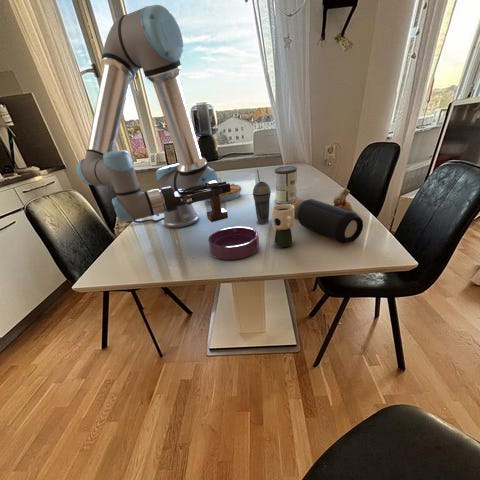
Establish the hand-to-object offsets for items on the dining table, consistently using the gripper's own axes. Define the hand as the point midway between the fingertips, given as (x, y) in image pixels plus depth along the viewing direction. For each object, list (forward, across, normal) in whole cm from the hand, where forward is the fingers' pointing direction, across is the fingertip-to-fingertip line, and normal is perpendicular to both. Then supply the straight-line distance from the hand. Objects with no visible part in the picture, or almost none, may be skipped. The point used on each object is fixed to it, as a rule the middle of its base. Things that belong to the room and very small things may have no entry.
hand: (227, 186), depth 99 cm
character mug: (+11, +19, -18) cm, 29 cm away
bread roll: (+32, -4, -18) cm, 37 cm away
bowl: (-5, +12, -18) cm, 22 cm away
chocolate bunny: (+47, +6, -18) cm, 51 cm away
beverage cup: (+16, -6, -18) cm, 25 cm away
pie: (+16, -54, -18) cm, 60 cm away
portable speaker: (+28, +20, -18) cm, 39 cm away
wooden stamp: (-5, 0, -10) cm, 11 cm away
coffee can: (+38, -25, -18) cm, 49 cm away
